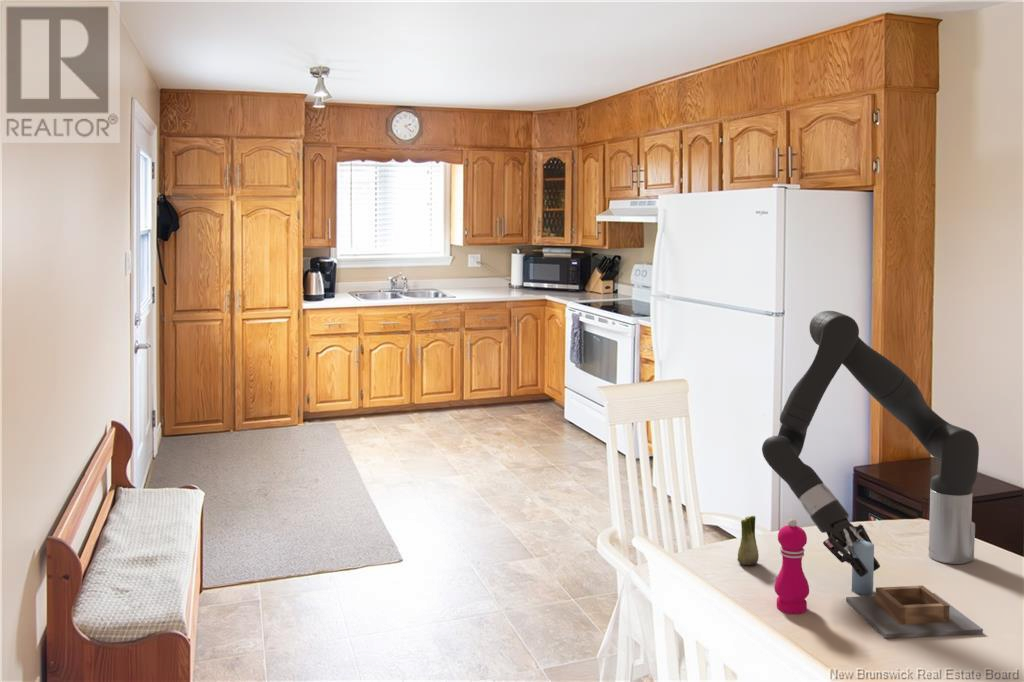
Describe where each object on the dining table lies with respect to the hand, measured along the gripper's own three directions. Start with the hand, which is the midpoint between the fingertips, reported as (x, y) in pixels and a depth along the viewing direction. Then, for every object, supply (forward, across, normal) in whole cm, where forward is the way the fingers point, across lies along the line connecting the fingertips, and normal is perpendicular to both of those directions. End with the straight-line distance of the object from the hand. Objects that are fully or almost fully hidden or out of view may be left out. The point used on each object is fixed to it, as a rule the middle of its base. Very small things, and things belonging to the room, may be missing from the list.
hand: (870, 571), depth 191 cm
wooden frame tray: (+12, -5, -5) cm, 14 cm away
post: (+2, 0, +5) cm, 6 cm away
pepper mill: (-1, -20, +9) cm, 22 cm away
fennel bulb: (-17, -6, +24) cm, 30 cm away
